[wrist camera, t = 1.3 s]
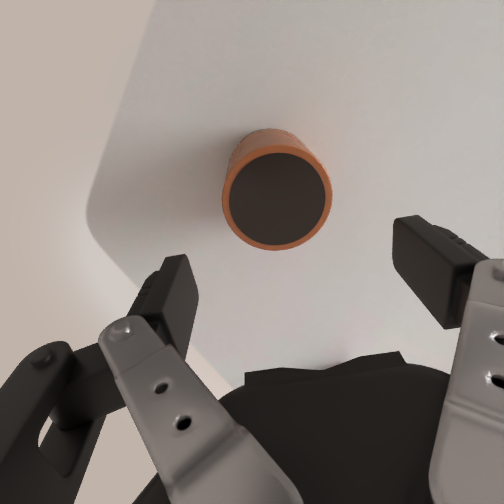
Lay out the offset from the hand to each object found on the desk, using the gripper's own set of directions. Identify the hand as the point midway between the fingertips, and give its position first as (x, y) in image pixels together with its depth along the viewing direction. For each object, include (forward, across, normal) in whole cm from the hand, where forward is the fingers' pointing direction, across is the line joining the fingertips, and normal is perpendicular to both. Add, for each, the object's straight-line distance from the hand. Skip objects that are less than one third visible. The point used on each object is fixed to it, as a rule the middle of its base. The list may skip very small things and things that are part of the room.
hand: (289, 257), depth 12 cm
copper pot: (+13, 0, 0) cm, 13 cm away
